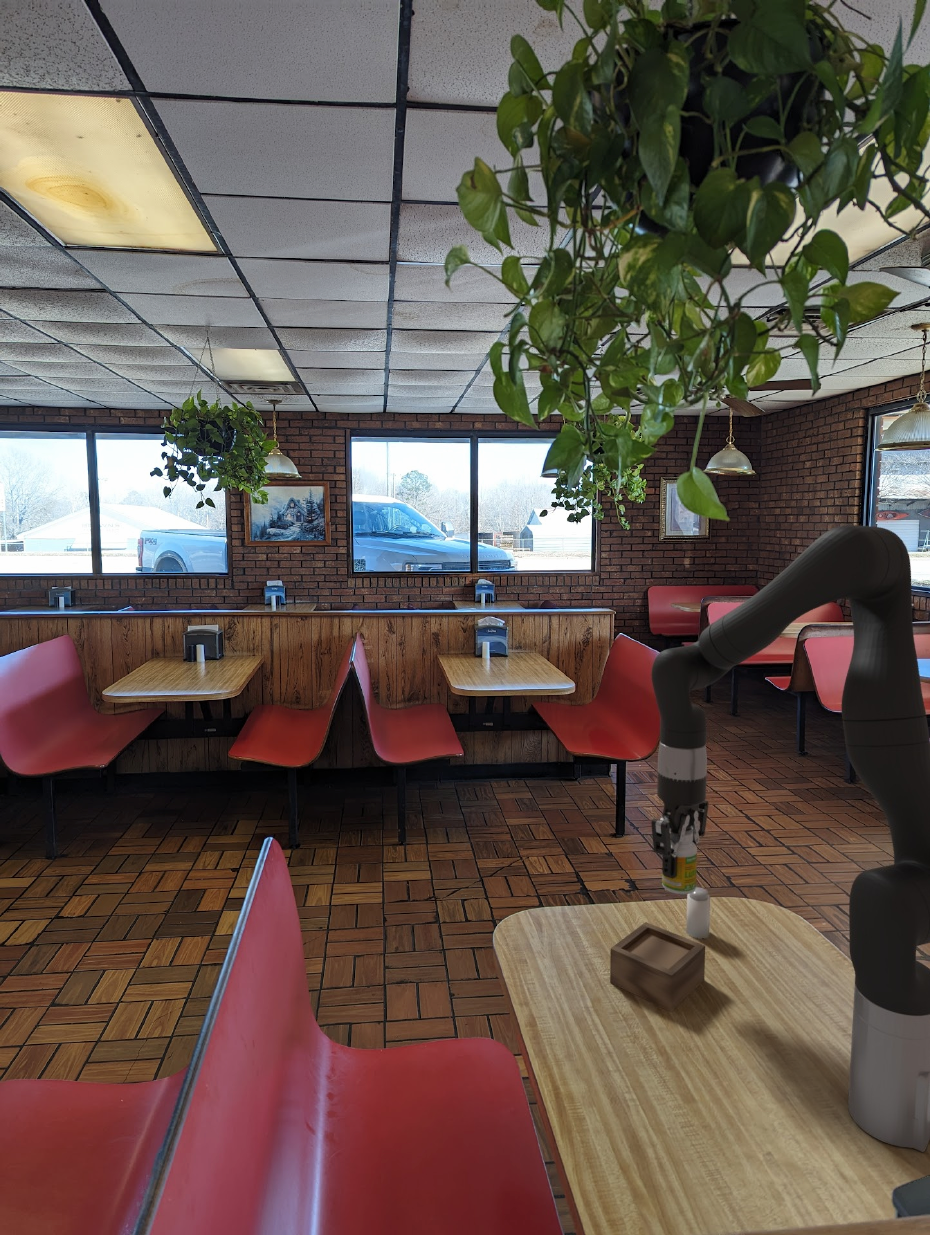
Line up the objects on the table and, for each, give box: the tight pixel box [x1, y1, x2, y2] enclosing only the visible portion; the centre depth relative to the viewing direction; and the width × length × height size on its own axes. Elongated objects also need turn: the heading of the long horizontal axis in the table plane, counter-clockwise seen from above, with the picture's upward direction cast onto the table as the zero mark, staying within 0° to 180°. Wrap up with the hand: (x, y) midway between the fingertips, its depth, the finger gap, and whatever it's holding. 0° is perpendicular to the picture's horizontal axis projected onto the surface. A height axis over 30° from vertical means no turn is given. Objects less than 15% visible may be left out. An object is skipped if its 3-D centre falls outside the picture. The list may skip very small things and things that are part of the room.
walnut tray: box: [609, 921, 706, 1013], centre depth 125 cm, size 11×11×6 cm
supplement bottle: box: [661, 829, 698, 895], centre depth 123 cm, size 5×5×10 cm
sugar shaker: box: [686, 886, 711, 940], centre depth 139 cm, size 4×4×8 cm
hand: (679, 869), depth 124 cm, fingers closed on supplement bottle, 5 cm apart
